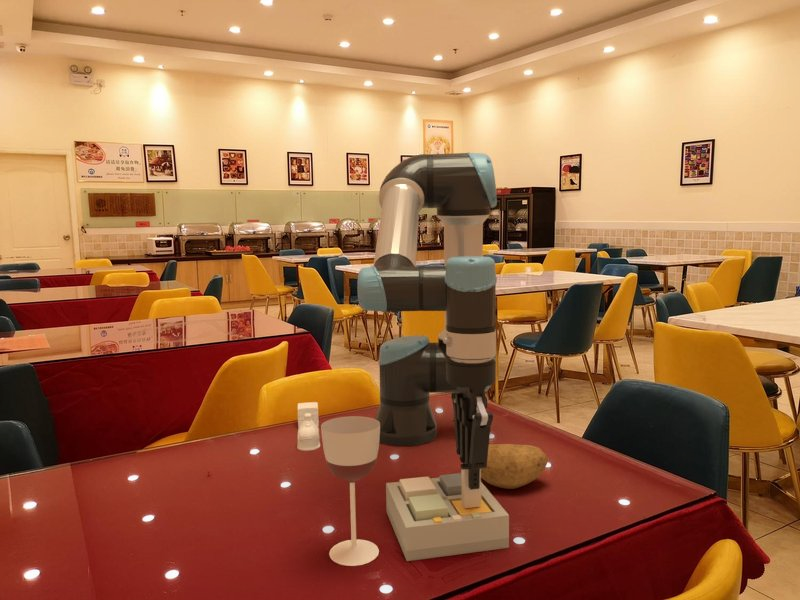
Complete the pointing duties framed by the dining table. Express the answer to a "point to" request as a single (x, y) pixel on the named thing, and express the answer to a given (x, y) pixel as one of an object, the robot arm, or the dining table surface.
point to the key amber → (468, 511)
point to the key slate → (451, 484)
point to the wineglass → (351, 474)
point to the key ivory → (416, 487)
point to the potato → (513, 465)
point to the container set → (308, 426)
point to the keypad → (447, 526)
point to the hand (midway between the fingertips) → (471, 505)
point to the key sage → (427, 507)
